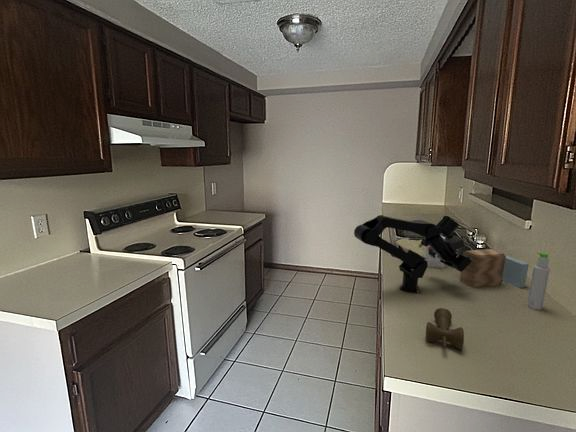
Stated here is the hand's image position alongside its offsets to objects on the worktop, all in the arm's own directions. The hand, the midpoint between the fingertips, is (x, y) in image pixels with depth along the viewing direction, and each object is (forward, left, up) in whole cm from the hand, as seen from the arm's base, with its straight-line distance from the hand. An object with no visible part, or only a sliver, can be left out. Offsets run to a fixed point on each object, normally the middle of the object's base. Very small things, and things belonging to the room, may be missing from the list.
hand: (459, 269), depth 130 cm
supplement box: (+21, +11, -7) cm, 25 cm away
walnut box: (+7, -8, -7) cm, 13 cm away
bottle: (-8, -24, -7) cm, 27 cm away
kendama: (-45, +3, -7) cm, 46 cm away
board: (+16, -19, -7) cm, 25 cm away
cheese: (+29, +21, -7) cm, 37 cm away
